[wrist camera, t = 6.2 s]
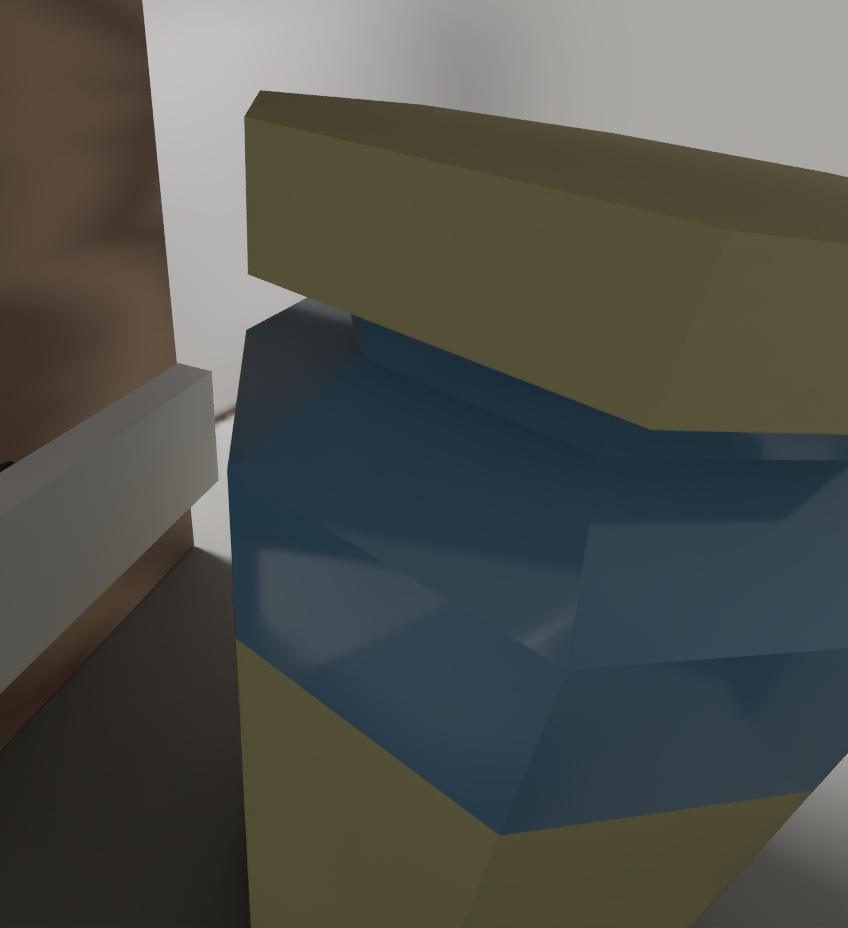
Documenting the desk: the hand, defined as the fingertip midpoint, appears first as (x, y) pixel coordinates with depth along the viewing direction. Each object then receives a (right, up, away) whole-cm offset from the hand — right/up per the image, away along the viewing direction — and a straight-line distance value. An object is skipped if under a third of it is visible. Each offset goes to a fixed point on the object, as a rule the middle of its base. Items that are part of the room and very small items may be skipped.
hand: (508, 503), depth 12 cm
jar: (-1, -8, +3) cm, 9 cm away
